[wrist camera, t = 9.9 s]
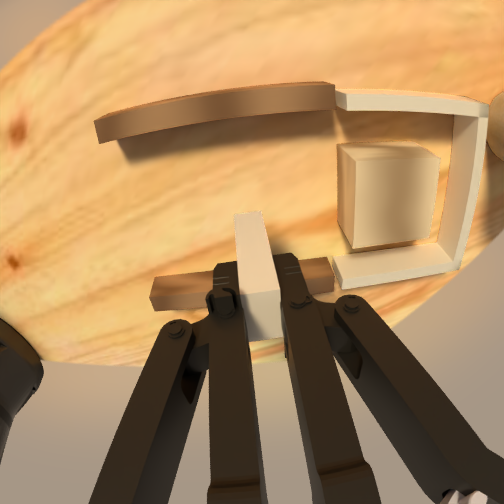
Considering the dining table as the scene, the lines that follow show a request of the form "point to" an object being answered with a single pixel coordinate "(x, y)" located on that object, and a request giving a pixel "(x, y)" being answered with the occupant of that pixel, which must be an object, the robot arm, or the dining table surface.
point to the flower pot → (496, 126)
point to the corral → (457, 194)
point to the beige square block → (385, 191)
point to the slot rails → (210, 109)
